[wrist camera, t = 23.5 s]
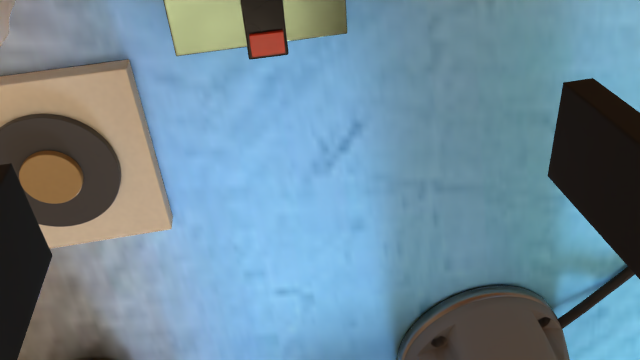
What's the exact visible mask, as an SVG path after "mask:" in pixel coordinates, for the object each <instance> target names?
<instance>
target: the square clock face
mask: <svg viewBox="0 0 640 360" xmlns="http://www.w3.org/2000/svg"><path fill="white" fill-rule="evenodd" d="M163 1H164V5H165V10H166V14H167V18H168V23H169V27H170V31H171V36H172V40H173V44H174V49H175V53H176V56H181V55H189V54H196V53H204V52H211V51H219V50H226V49H234V48H241V47H247V43H246V36H245V30H244V23H243V17H242V10H241V4H240V0H163ZM283 7H284V16H285V25H286V35H287V41H294V40H301V39H309V38H316V37H324V36H331V35H339V34H346V33H347V18H346V0H283Z"/></svg>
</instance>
